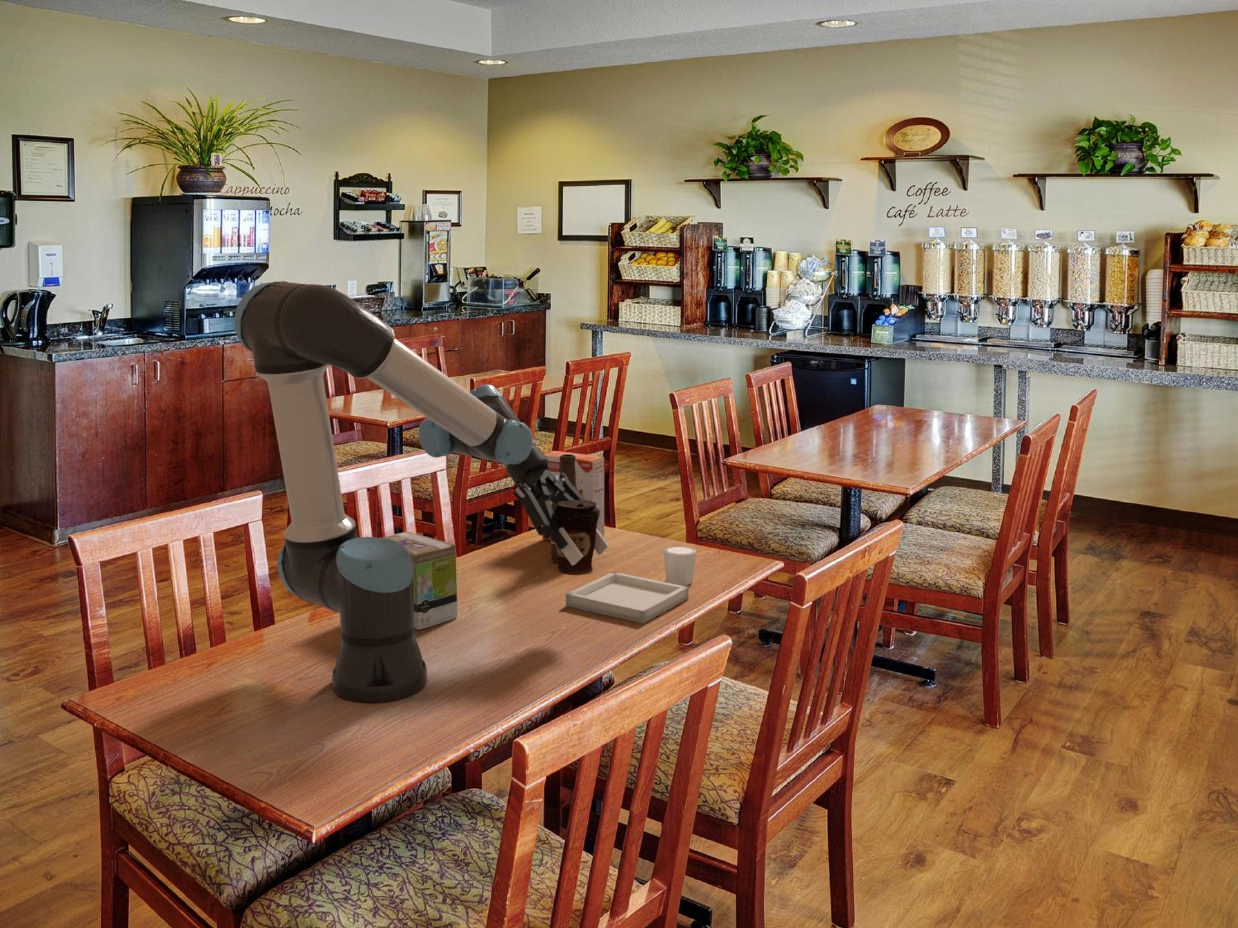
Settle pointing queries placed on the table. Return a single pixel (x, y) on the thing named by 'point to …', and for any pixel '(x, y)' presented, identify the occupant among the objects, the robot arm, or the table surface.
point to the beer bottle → (569, 469)
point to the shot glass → (679, 564)
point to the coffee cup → (578, 533)
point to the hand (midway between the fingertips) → (591, 555)
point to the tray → (627, 597)
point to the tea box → (431, 578)
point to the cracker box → (584, 479)
